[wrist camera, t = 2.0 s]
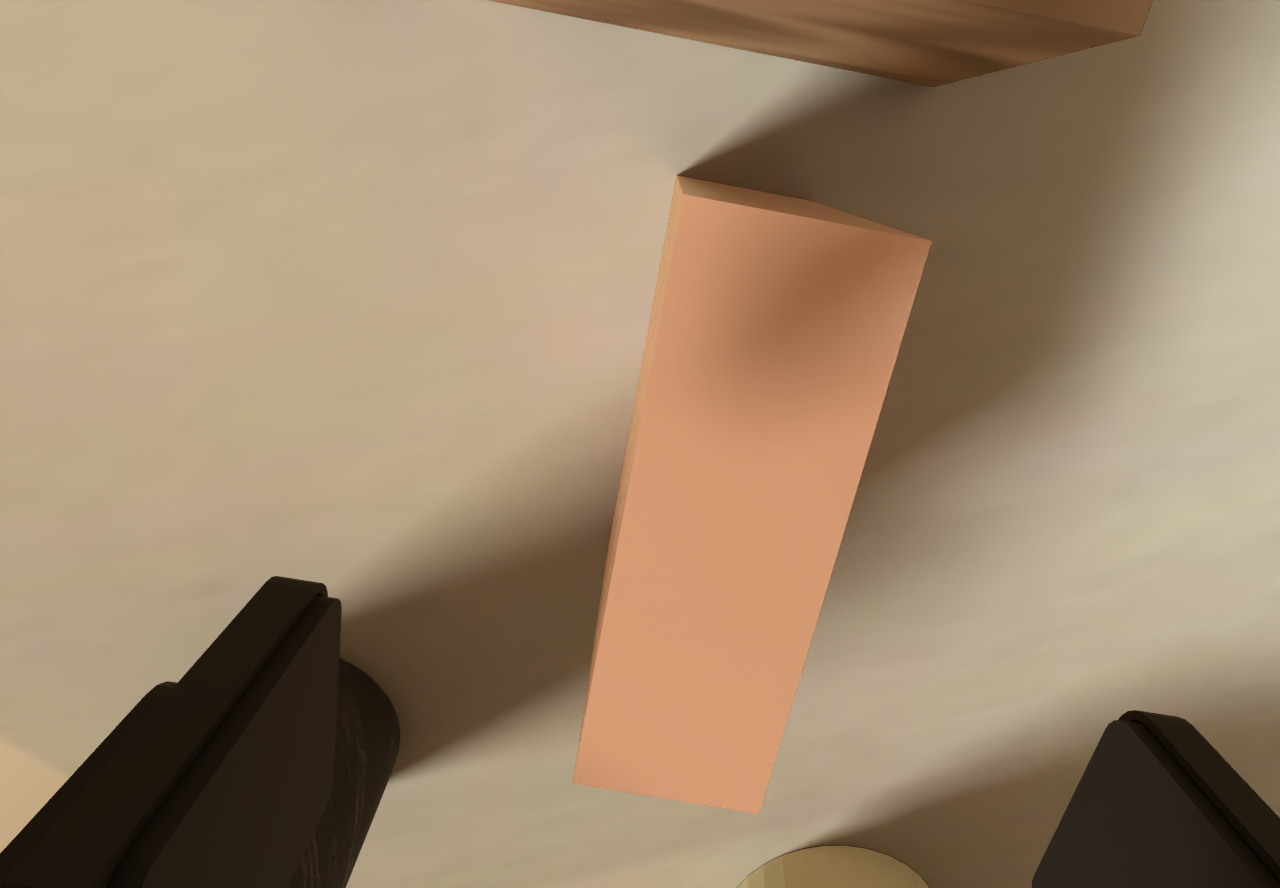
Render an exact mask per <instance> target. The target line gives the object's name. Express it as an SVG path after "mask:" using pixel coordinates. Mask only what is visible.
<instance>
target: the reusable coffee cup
mask: <svg viewBox="0 0 1280 888" xmlns="http://www.w3.org/2000/svg"><path fill="white" fill-rule="evenodd" d="M738 888H929V887H928V885H927V884H926V883H925V882H924V880H923V879H922V878H921V877H920V875H918V874H917V873H916V872H915V871H913V870H912V869H911V868H909V867H908V866H907V865H906V864H904V863H902V862H900V861H898V860H896V859H894V858H892V857H890V856H888V855H886V854H883V853H879V852H876V851H873V850H870V849H865V848H858V847H851V846H820V847H813V848H807V849H801V850H798V851H795V852H792V853H788V854H785V855H782V856H780V857H778V858H776V859H774V860H772V861H770V862H768V863H766V864H764V865H762V866H761V867H760V868H758V869H757V870H756V871H754V872H753V873H751V874H750V875H749V876H748V877H747V878H746V879H745V880H744V881H743V882H742V883H741V884H740V885H739V886H738Z"/></svg>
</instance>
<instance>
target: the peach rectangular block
mask: <svg viewBox="0 0 1280 888" xmlns="http://www.w3.org/2000/svg"><path fill="white" fill-rule="evenodd" d="M931 243H932V241H930V240H927V239H924V238H921V237H918V236H915V235H912V234H909V233H906V232H903V231H900V230H897V229H894V228H891V227H888V226H885V225H882V224H879V223H876V222H873V221H870V220H867V219H864V218H861V217H858V216H855V215H852V214H849V213H846V212H843V211H840V210H837V209H834V208H831V207H828V206H825V205H822V204H819V203H816V202H813V201H809V200H804V199H798V198H793V197H788V196H782V195H777V194H772V193H767V192H761V191H756V190H751V189H745V188H740V187H735V186H730V185H724V184H719V183H714V182H708V181H703V180H698V179H693V178H687V177H682V176H677V175H676V180H675V185H674V191H673V196H672V202H671V207H670V213H669V218H668V223H667V229H666V234H665V240H664V245H663V251H662V256H661V262H660V267H659V272H658V278H657V283H656V289H655V294H654V300H653V305H652V311H651V316H650V321H649V327H648V332H647V338H646V343H645V349H644V354H643V360H642V365H641V370H640V376H639V381H638V387H637V392H636V398H635V403H634V408H633V414H632V419H631V425H630V430H629V436H628V441H627V447H626V452H625V457H624V463H623V468H622V474H621V479H620V485H619V490H618V496H617V501H616V506H615V512H614V517H613V523H612V528H611V534H610V539H609V545H608V552H607V559H606V565H605V572H604V579H603V585H602V592H601V598H600V605H599V612H598V618H597V625H596V632H595V638H594V645H593V652H592V658H591V665H590V671H589V678H588V685H587V691H586V698H585V705H584V711H583V718H582V725H581V731H580V738H579V744H578V751H577V758H576V764H575V771H574V778H573V783H575V784H581V785H587V786H593V787H599V788H605V789H611V790H617V791H623V792H629V793H635V794H642V795H648V796H654V797H660V798H666V799H672V800H678V801H684V802H690V803H696V804H702V805H708V806H715V807H721V808H727V809H733V810H739V811H745V812H751V813H757V814H759V812H760V809H761V805H762V802H763V799H764V795H765V792H766V789H767V785H768V782H769V779H770V775H771V772H772V769H773V765H774V762H775V759H776V756H777V752H778V749H779V746H780V742H781V739H782V736H783V732H784V729H785V726H786V722H787V719H788V716H789V713H790V709H791V706H792V703H793V699H794V696H795V693H796V689H797V686H798V683H799V679H800V676H801V673H802V670H803V666H804V663H805V660H806V656H807V653H808V650H809V646H810V643H811V640H812V636H813V633H814V630H815V626H816V623H817V620H818V617H819V613H820V610H821V607H822V603H823V600H824V597H825V593H826V590H827V587H828V583H829V580H830V577H831V574H832V570H833V567H834V564H835V560H836V557H837V554H838V550H839V547H840V544H841V540H842V537H843V534H844V530H845V527H846V524H847V521H848V517H849V514H850V511H851V507H852V504H853V501H854V497H855V494H856V491H857V487H858V484H859V481H860V478H861V474H862V471H863V468H864V464H865V461H866V458H867V454H868V451H869V448H870V444H871V441H872V438H873V435H874V431H875V428H876V425H877V421H878V418H879V415H880V411H881V408H882V405H883V401H884V398H885V395H886V391H887V388H888V385H889V382H890V378H891V375H892V372H893V368H894V365H895V362H896V358H897V355H898V352H899V348H900V345H901V342H902V339H903V335H904V332H905V329H906V325H907V322H908V319H909V315H910V312H911V309H912V305H913V302H914V299H915V295H916V292H917V289H918V286H919V282H920V279H921V276H922V272H923V269H924V266H925V262H926V259H927V256H928V252H929V249H930V246H931Z"/></svg>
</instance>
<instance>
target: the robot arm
mask: <svg viewBox="0 0 1280 888" xmlns="http://www.w3.org/2000/svg"><path fill="white" fill-rule="evenodd" d="M340 632H341V602H340V600H339V599H337V598H330V597H328V594H327V589H326V586H325V585H324V584H323V583H317V582H311V581H304V580H298V579H291V578H285V577H279V576H275V577H271V578H270V579H269V580H268V581H267V582H266V583H265V584H264V585H263V586H262V587H261V588H260V590H259V591H258V592H257V593H256V594H255V595H254V596H253V598H252V599H251V600H250V601H249V602H248V603H247V604H246V606H245V607H244V608H243V609H242V610H241V611H240V612H239V614H238V615H237V616H236V617H235V618H234V619H233V620H232V622H231V623H230V624H229V625H228V626H227V627H226V628H225V630H224V631H223V632H222V633H221V634H220V635H219V636H218V638H217V639H216V640H215V641H214V642H213V643H212V644H211V646H210V647H209V648H208V649H207V650H206V651H205V652H204V653H203V655H202V656H201V657H200V658H199V659H198V660H197V661H196V663H195V664H194V665H193V666H192V667H191V668H190V669H189V671H188V672H187V673H186V674H185V675H184V676H183V677H182V679H181V680H180V681H179V682H178V683H174V682H164V683H161V684H159V685H157V686H155V687H154V688H153V689H152V690H151V691H150V692H149V693H147V694H146V695H145V696H144V697H143V698H142V699H141V701H140V702H139V703H138V704H137V705H136V706H135V707H134V708H133V709H132V710H131V711H130V713H129V714H128V715H127V716H126V717H125V718H124V719H123V720H122V721H121V722H120V723H119V725H118V726H117V727H116V728H115V729H114V730H113V731H112V732H111V733H110V734H109V736H108V737H107V738H106V739H105V740H104V741H103V742H102V743H101V744H100V745H99V746H98V748H97V749H96V750H95V751H94V752H93V753H92V754H91V755H90V756H89V757H88V758H87V760H86V761H85V762H84V763H83V764H82V765H81V766H80V767H79V768H78V769H77V770H76V772H75V773H74V774H73V775H72V776H71V777H70V778H69V779H68V780H67V781H66V783H65V784H64V785H63V786H62V787H61V788H60V789H59V790H58V791H57V792H56V793H55V795H54V796H53V797H52V798H51V799H50V800H49V801H48V802H47V803H46V804H45V805H44V807H43V808H42V809H41V810H40V811H39V812H38V813H37V814H36V815H35V816H34V817H33V819H32V820H31V821H30V822H29V823H28V824H27V825H26V826H25V827H24V828H23V829H22V831H21V832H20V833H19V834H18V835H17V836H16V837H15V838H14V839H13V840H12V842H11V843H10V844H9V845H8V846H7V847H6V848H5V849H4V850H3V851H2V852H1V853H0V888H287V886H288V884H289V882H290V880H291V878H292V876H293V874H294V872H295V870H296V868H297V866H298V864H299V862H300V860H301V858H302V856H303V854H304V851H305V849H306V847H307V845H308V843H309V841H310V839H311V837H312V835H313V833H314V831H315V829H316V827H317V825H318V823H319V821H320V819H321V817H322V815H323V812H324V810H325V808H326V805H327V802H328V799H329V796H330V793H331V789H332V784H333V776H334V758H335V737H336V716H337V695H338V674H339V653H340ZM1032 888H1280V818H1279V817H1278V816H1277V815H1276V814H1275V813H1274V812H1273V811H1272V809H1271V808H1270V807H1269V806H1268V805H1267V804H1266V803H1265V802H1264V801H1263V800H1262V799H1261V798H1260V797H1259V796H1258V795H1257V794H1256V792H1255V791H1254V790H1253V789H1252V788H1251V787H1250V786H1249V785H1248V784H1247V783H1246V782H1245V781H1244V780H1243V779H1242V778H1241V777H1240V775H1239V774H1238V773H1237V772H1236V771H1235V770H1234V769H1233V768H1232V767H1231V766H1230V765H1229V764H1228V763H1227V762H1226V761H1225V759H1224V758H1223V757H1222V756H1221V755H1220V754H1219V753H1218V752H1217V751H1216V750H1215V749H1214V748H1213V747H1212V746H1211V745H1210V744H1209V742H1208V741H1207V740H1206V739H1205V738H1204V737H1203V736H1202V735H1201V734H1200V733H1199V732H1198V731H1197V730H1196V729H1195V728H1194V727H1193V726H1192V725H1191V724H1190V723H1189V722H1187V721H1186V720H1185V719H1182V718H1179V717H1175V716H1168V715H1162V714H1156V713H1149V712H1143V711H1136V710H1134V711H1128V712H1126V713H1125V714H1123V715H1122V716H1121V717H1120V718H1119V720H1116V721H1113V722H1111V723H1110V724H1109V725H1108V726H1107V728H1106V729H1105V731H1104V733H1103V735H1102V737H1101V739H1100V741H1099V743H1098V745H1097V747H1096V749H1095V752H1094V754H1093V756H1092V758H1091V760H1090V762H1089V764H1088V766H1087V768H1086V770H1085V772H1084V774H1083V776H1082V778H1081V780H1080V782H1079V784H1078V786H1077V789H1076V791H1075V793H1074V795H1073V797H1072V799H1071V801H1070V803H1069V805H1068V807H1067V809H1066V811H1065V813H1064V815H1063V817H1062V819H1061V821H1060V823H1059V826H1058V828H1057V830H1056V832H1055V834H1054V836H1053V838H1052V840H1051V842H1050V844H1049V846H1048V848H1047V850H1046V852H1045V854H1044V856H1043V858H1042V860H1041V863H1040V865H1039V867H1038V869H1037V871H1036V873H1035V875H1034V878H1033V881H1032Z"/></svg>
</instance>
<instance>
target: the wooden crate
mask: <svg viewBox="0 0 1280 888" xmlns="http://www.w3.org/2000/svg"><path fill="white" fill-rule="evenodd" d="M490 1H496V2H501V3H506V4H511V5H516V6H521V7H526V8H532V9H537V10H542V11H547V12H552V13H557V14H562V15H568V16H573V17H578V18H583V19H588V20H593V21H598V22H603V23H609V24H614V25H619V26H624V27H629V28H634V29H639V30H645V31H650V32H655V33H660V34H665V35H670V36H675V37H680V38H686V39H691V40H696V41H701V42H706V43H711V44H716V45H722V46H727V47H732V48H737V49H742V50H747V51H752V52H757V53H763V54H768V55H773V56H778V57H783V58H788V59H793V60H799V61H804V62H809V63H814V64H819V65H824V66H829V67H835V68H840V69H845V70H850V71H855V72H860V73H865V74H870V75H876V76H881V77H886V78H891V79H896V80H901V81H906V82H912V83H917V84H922V85H927V86H932V87H935V86H939V85H943V84H947V83H951V82H955V81H959V80H963V79H967V78H971V77H975V76H979V75H983V74H987V73H991V72H995V71H999V70H1003V69H1007V68H1011V67H1015V66H1019V65H1023V64H1027V63H1031V62H1035V61H1039V60H1043V59H1047V58H1051V57H1055V56H1059V55H1063V54H1067V53H1071V52H1075V51H1079V50H1083V49H1087V48H1092V47H1096V46H1100V45H1104V44H1108V43H1112V42H1116V41H1120V40H1124V39H1128V38H1132V37H1136V36H1140V33H1141V31H1142V28H1143V25H1144V22H1145V20H1146V17H1147V14H1148V11H1149V9H1150V6H1151V3H1152V0H490Z"/></svg>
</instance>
